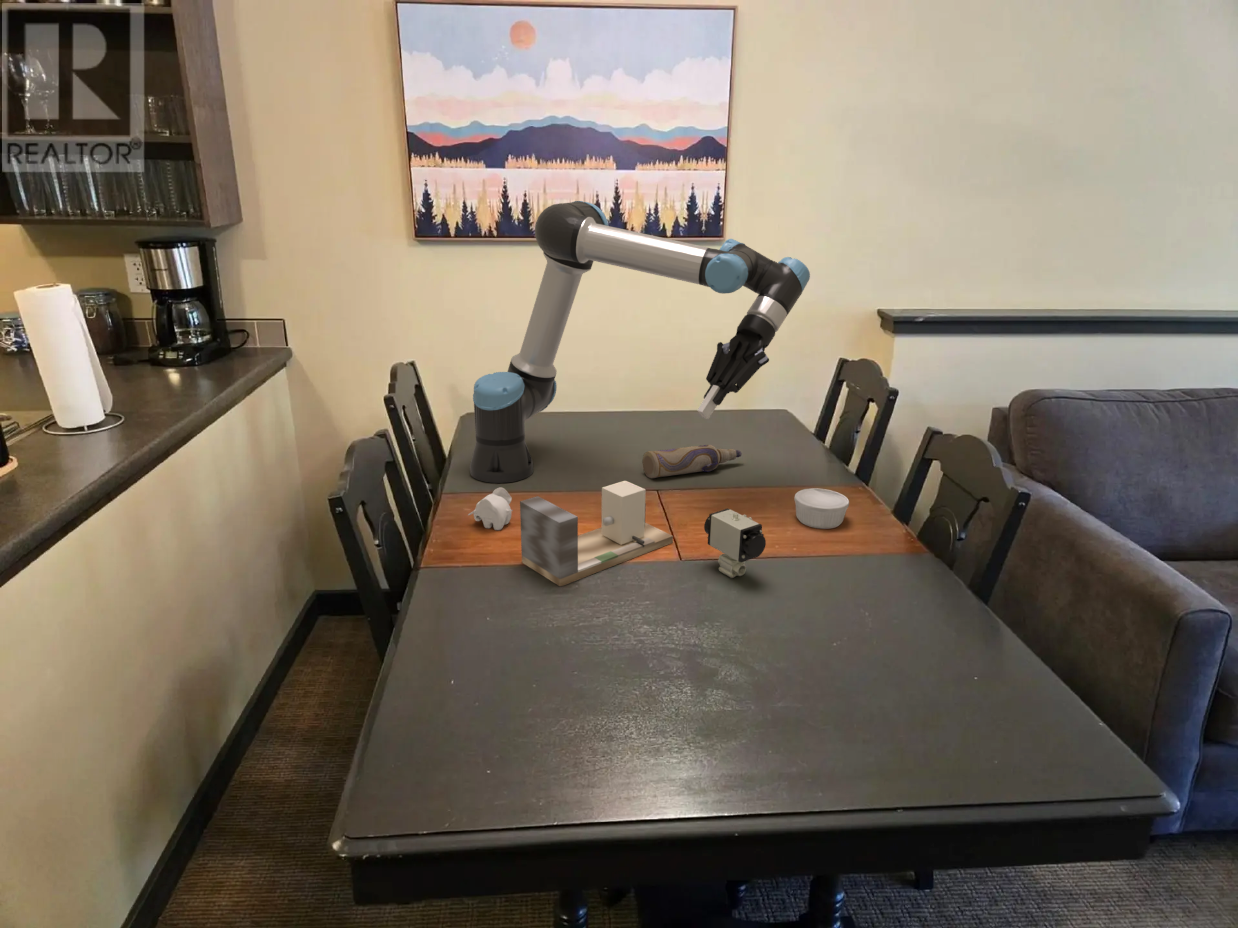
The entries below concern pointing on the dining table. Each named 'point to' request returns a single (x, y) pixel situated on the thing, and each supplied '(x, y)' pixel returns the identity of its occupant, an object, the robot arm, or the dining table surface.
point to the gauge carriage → (623, 512)
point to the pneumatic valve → (734, 540)
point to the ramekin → (820, 507)
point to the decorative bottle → (685, 460)
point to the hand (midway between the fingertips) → (702, 414)
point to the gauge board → (602, 547)
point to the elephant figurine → (494, 509)
